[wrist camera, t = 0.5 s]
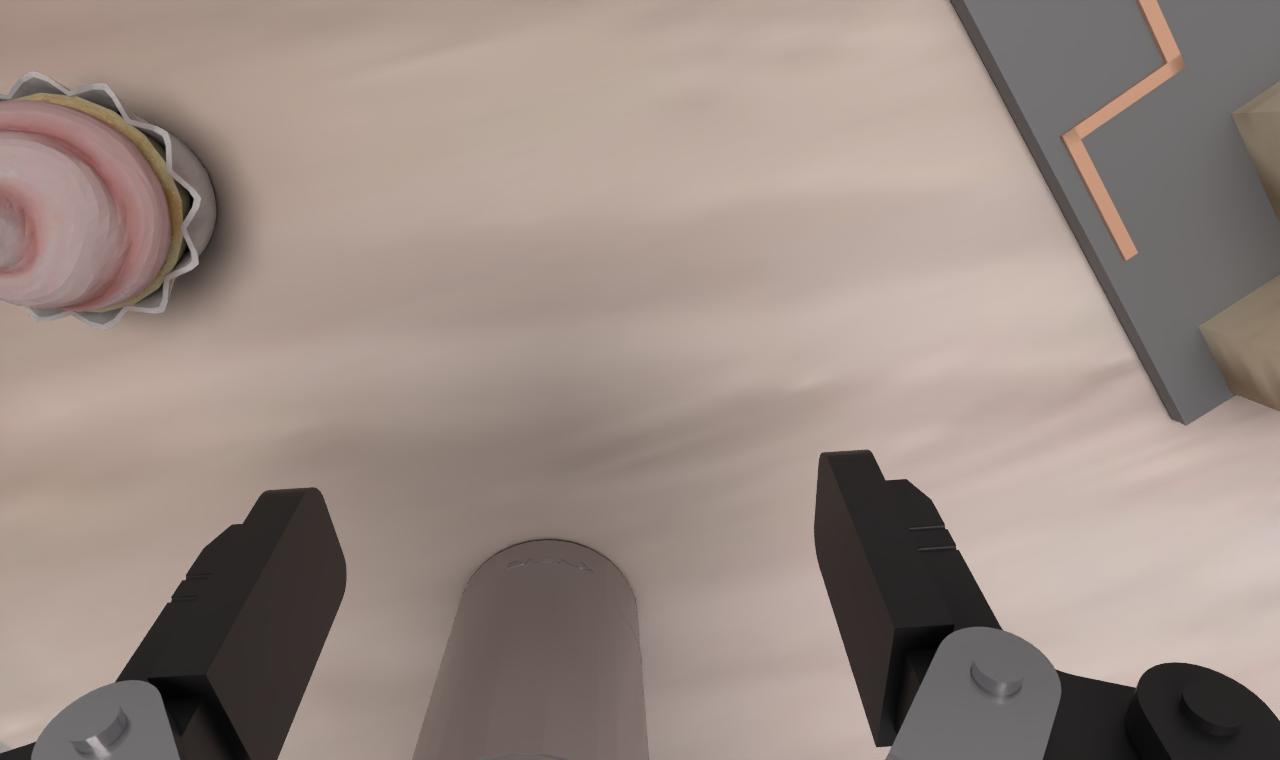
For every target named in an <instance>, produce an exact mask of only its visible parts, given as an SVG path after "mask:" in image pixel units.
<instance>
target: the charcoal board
mask: <svg viewBox="0 0 1280 760" xmlns="http://www.w3.org/2000/svg"><path fill="white" fill-rule="evenodd" d="M951 2H952V4H953V6H954V8H955V10H956V12H957V13H958V15H959V17H960V19H961V21H962V23H963V25H964V27H965V29H966V31H967V32H968V34H969V36H970V38H971V40H972V42H973V44H974V46H975V48H976V49H977V51H978V53H979V55H980V57H981V59H982V61H983V63H984V65H985V66H986V68H987V70H988V72H989V74H990V76H991V78H992V80H993V82H994V84H995V85H996V87H997V89H998V91H999V93H1000V95H1001V97H1002V99H1003V101H1004V102H1005V104H1006V106H1007V108H1008V110H1009V112H1010V114H1011V116H1012V118H1013V120H1014V121H1015V123H1016V125H1017V127H1018V129H1019V131H1020V133H1021V135H1022V137H1023V138H1024V140H1025V142H1026V144H1027V146H1028V148H1029V150H1030V152H1031V154H1032V155H1033V157H1034V159H1035V161H1036V163H1037V165H1038V167H1039V169H1040V171H1041V173H1042V174H1043V176H1044V178H1045V180H1046V182H1047V184H1048V186H1049V188H1050V190H1051V191H1052V193H1053V195H1054V197H1055V199H1056V201H1057V203H1058V205H1059V207H1060V208H1061V210H1062V212H1063V214H1064V216H1065V218H1066V220H1067V222H1068V224H1069V226H1070V227H1071V229H1072V231H1073V233H1074V235H1075V237H1076V239H1077V241H1078V243H1079V244H1080V246H1081V248H1082V250H1083V252H1084V254H1085V256H1086V258H1087V260H1088V262H1089V263H1090V265H1091V267H1092V269H1093V271H1094V273H1095V275H1096V277H1097V279H1098V280H1099V282H1100V284H1101V286H1102V288H1103V290H1104V292H1105V294H1106V296H1107V297H1108V299H1109V301H1110V303H1111V305H1112V307H1113V309H1114V311H1115V313H1116V315H1117V316H1118V318H1119V320H1120V322H1121V324H1122V326H1123V328H1124V330H1125V332H1126V333H1127V335H1128V337H1129V339H1130V341H1131V343H1132V345H1133V347H1134V349H1135V350H1136V352H1137V354H1138V356H1139V358H1140V360H1141V362H1142V364H1143V366H1144V368H1145V369H1146V371H1147V373H1148V375H1149V377H1150V379H1151V381H1152V383H1153V385H1154V386H1155V388H1156V390H1157V392H1158V394H1159V396H1160V398H1161V400H1162V402H1163V403H1164V405H1165V407H1166V409H1167V411H1168V413H1169V415H1170V417H1171V419H1173V420H1175V421H1177V422H1180V423H1182V424H1184V425H1188V424H1190V423H1191V422H1193V421H1194V420H1196V419H1198V418H1199V417H1201V416H1202V415H1204V414H1206V413H1207V412H1209V411H1210V410H1212V409H1214V408H1215V407H1217V406H1218V405H1220V404H1222V403H1223V402H1225V401H1227V400H1228V399H1230V398H1231V397H1233V396H1235V395H1236V394H1235V393H1232V392H1230V390H1229V388H1228V386H1227V384H1226V382H1225V380H1224V378H1223V376H1222V374H1221V372H1220V370H1219V367H1218V365H1217V363H1216V361H1215V359H1214V357H1213V355H1212V353H1211V351H1210V349H1209V347H1208V345H1207V343H1206V341H1205V339H1204V337H1203V335H1202V333H1201V331H1200V329H1199V327H1198V326H1200V325H1201V324H1203V323H1205V322H1206V321H1208V320H1209V319H1211V318H1212V317H1214V316H1216V315H1217V314H1219V313H1220V312H1222V311H1223V310H1225V309H1227V308H1228V307H1230V306H1231V305H1233V304H1234V303H1236V302H1237V301H1239V300H1241V299H1242V298H1244V297H1245V296H1247V295H1248V294H1250V293H1252V292H1253V291H1255V290H1256V289H1258V288H1259V287H1261V286H1263V285H1264V284H1266V283H1267V282H1269V281H1270V280H1272V279H1273V278H1275V277H1277V276H1278V275H1280V224H1279V221H1278V219H1277V217H1276V215H1275V212H1274V210H1273V208H1272V205H1271V203H1270V201H1269V199H1268V196H1267V194H1266V192H1265V190H1264V187H1263V185H1262V183H1261V180H1260V178H1259V176H1258V174H1257V171H1256V169H1255V167H1254V164H1253V162H1252V160H1251V158H1250V155H1249V153H1248V151H1247V149H1246V146H1245V144H1244V142H1243V139H1242V137H1241V135H1240V133H1239V130H1238V128H1237V126H1236V123H1235V121H1234V119H1233V117H1232V114H1231V113H1233V112H1234V111H1236V110H1237V109H1239V108H1240V107H1242V106H1243V105H1245V104H1246V103H1248V102H1249V101H1251V100H1252V99H1254V98H1255V97H1257V96H1258V95H1260V94H1261V93H1263V92H1264V91H1265V90H1267V89H1268V88H1270V87H1271V86H1273V85H1274V84H1276V83H1277V82H1279V81H1280V0H951Z"/></svg>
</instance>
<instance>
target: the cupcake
mask: <svg viewBox="0 0 1280 760" xmlns="http://www.w3.org/2000/svg"><path fill="white" fill-rule="evenodd" d="M216 216H217V212H216V202H215V195H214V191H213V188H212V185H211V182H210V179H209V176H208V173H207V172H206V170H205V169H204V167H203V166H202V164H201V163H200V161H199V160H198V159H197V157H196V156H195V155H194V154H193V152H192V151H191V150H190V149H189V148H188V147H187V146H186V145H185V144H184V143H183V142H182V141H181V140H180V139H178V138H177V137H175V136H173V135H172V134H170V133H169V132H167V131H165V130H163V129H161V128H160V127H158V126H155V125H153V124H151V123H149V122H147V121H145V120H144V119H142V118H140V117H138V116H137V115H135V114H133V113H132V112H131V111H130V109H129V108H128V107H127V106H126V105H125V104H124V103H123V102H122V101H121V100H120V99H119V97H118V96H117V95H116V94H115V93H114V92H113V91H112V90H111V89H110V88H109V87H108V86H107V85H106V84H98V83H94V84H91V85H87V86H84V87H81V88H77V89H74V90H69V89H68V88H66V87H64V86H63V85H61V84H59V83H58V82H56V81H54V80H53V79H51V78H49V77H48V76H46V75H43V74H40V73H37V72H34V71H31V72H29V73H27V74H26V75H24V76H22V77H20V79H19V80H18V81H17V83H16V84H15V85H14V87H13V88H12V89H11V91H10V92H9V93H8V95H4V94H0V300H3V301H5V302H8V303H11V304H15V305H19V306H24V307H25V308H26V310H27V311H28V313H29V314H30V315H31V316H32V317H33V318H34V319H35V320H36V321H39V322H48V321H51V320H55V319H58V318H62V317H66V316H69V315H72V316H74V317H76V318H77V319H79V320H81V321H82V322H84V323H85V324H87V325H89V326H90V327H93V328H99V329H105V330H106V329H108V328H110V327H113V326H115V325H116V324H117V323H118V322H119V321H120V319H121V318H122V317H123V316H124V315H125V313H126V312H127V311H135V312H144V313H152V314H155V313H162V312H164V310H165V308H166V306H167V303H168V300H169V297H170V294H171V291H172V288H173V285H174V282H175V279H176V278H177V277H178V276H179V275H181V274H184V273H186V272H188V271H191V270H192V269H194V268H195V267H196V266H197V265H198V264H199V259H198V256H199V255H200V254H201V253H202V252H203V251H204V250H205V248H206V246H207V244H208V243H209V241H210V238H211V236H212V234H213V230H214V226H215V221H216Z"/></svg>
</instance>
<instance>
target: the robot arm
mask: <svg viewBox="0 0 1280 760" xmlns="http://www.w3.org/2000/svg"><path fill="white" fill-rule="evenodd" d="M814 538H815V548H816V554H817V559H818V564H819V567H820V570H821V573H822V577H823V580H824V583H825V586H826V589H827V593H828V596H829V599H830V602H831V605H832V608H833V612H834V615H835V618H836V621H837V624H838V627H839V631H840V634H841V637H842V640H843V643H844V646H845V650H846V653H847V656H848V659H849V662H850V666H851V669H852V672H853V675H854V678H855V681H856V685H857V688H858V691H859V694H860V697H861V700H862V704H863V707H864V710H865V713H866V716H867V720H868V723H869V726H870V729H871V732H872V735H873V739H874V742H875V745H876V747H887V746H892V747H891V750H890V752H889V754H888V756H887V758H886V760H1280V721H1279V720H1278V718H1277V717H1276V716H1275V714H1274V713H1273V712H1272V711H1271V710H1270V708H1269V707H1268V706H1267V705H1266V704H1265V703H1264V702H1263V701H1262V700H1261V699H1260V698H1259V697H1258V696H1257V695H1255V694H1254V693H1253V692H1251V691H1250V690H1249V689H1247V688H1246V687H1245V686H1243V685H1242V684H1240V683H1238V682H1237V681H1235V680H1233V679H1231V678H1229V677H1227V676H1225V675H1223V674H1221V673H1219V672H1216V671H1214V670H1211V669H1209V668H1205V667H1202V666H1198V665H1193V664H1187V663H1164V664H1160V665H1156V666H1154V667H1152V668H1150V669H1148V670H1147V671H1146V672H1145V673H1144V674H1143V675H1142V677H1141V678H1140V680H1139V682H1138V684H1137V687H1136V688H1134V687H1129V686H1124V685H1119V684H1114V683H1109V682H1104V681H1100V680H1095V679H1090V678H1085V677H1080V676H1075V675H1072V674H1068V673H1064V672H1061V671H1058V670H1056V669H1055V668H1054V666H1053V665H1052V664H1051V662H1050V661H1049V660H1048V658H1047V657H1046V656H1045V655H1044V654H1043V653H1042V652H1041V651H1040V650H1038V649H1037V648H1036V647H1034V646H1033V645H1032V644H1030V643H1029V642H1027V641H1026V640H1024V639H1022V638H1020V637H1018V636H1016V635H1014V634H1012V633H1009V632H1006V631H1003V630H1002V628H1001V626H1000V625H999V623H998V621H997V619H996V617H995V616H994V614H993V612H992V610H991V608H990V606H989V605H988V603H987V601H986V599H985V597H984V595H983V594H982V592H981V590H980V588H979V586H978V584H977V583H976V581H975V579H974V577H973V575H972V573H971V572H970V570H969V568H968V566H967V564H966V562H965V561H964V559H963V557H962V555H961V553H960V551H959V550H956V544H955V542H954V540H953V539H952V537H951V535H950V533H949V531H948V529H945V524H944V522H943V520H942V518H941V517H940V515H939V513H938V511H937V509H936V507H935V506H934V504H933V502H932V500H931V499H930V498H929V497H927V496H926V495H925V494H924V493H922V492H921V491H920V490H919V489H918V488H916V487H915V486H914V485H913V484H911V483H910V482H909V481H908V480H907V479H902V480H887V481H885V479H884V476H883V474H882V472H881V470H880V468H879V466H878V464H877V462H876V460H875V458H874V456H873V454H872V452H871V451H870V450H854V451H839V452H824V453H821V455H820V458H819V466H818V480H817V494H816V508H815V522H814ZM346 575H347V574H346V563H345V558H344V555H343V552H342V549H341V546H340V543H339V540H338V538H337V535H336V532H335V529H334V526H333V523H332V520H331V518H330V515H329V512H328V509H327V506H326V503H325V500H324V498H323V495H322V494H321V492H320V491H319V490H318V489H317V488H314V487H311V488H296V489H281V490H268V491H265V492H264V493H262V494H261V496H260V497H259V498H258V500H257V502H256V503H255V505H254V506H253V508H252V510H251V511H250V513H249V514H248V516H247V518H246V519H245V521H244V522H243V524H235V525H231V526H230V527H229V528H227V529H226V530H225V531H224V532H223V533H221V534H220V535H219V536H218V537H217V538H215V539H214V540H213V541H212V542H211V543H210V544H208V545H207V546H206V547H205V548H204V549H203V550H202V552H201V553H200V555H199V556H198V558H197V559H196V561H195V562H194V564H193V565H192V567H191V568H190V570H189V571H188V573H187V574H186V580H182V582H181V583H180V585H179V586H178V588H177V589H176V591H175V592H174V594H173V595H172V601H171V603H167V604H166V606H165V608H164V609H163V611H162V612H161V614H160V615H159V617H158V618H157V620H156V621H155V623H154V624H153V626H152V627H151V629H150V630H149V632H148V633H147V635H146V636H145V638H144V639H143V641H142V642H141V644H140V645H139V647H138V648H137V650H136V651H135V653H134V654H133V656H132V657H131V659H130V660H129V662H128V663H127V665H126V666H125V668H124V670H123V671H122V673H121V674H120V676H119V677H118V679H117V680H116V682H115V683H112V684H109V685H106V686H103V687H100V688H98V689H96V690H94V691H91V692H89V693H88V694H86V695H84V696H82V697H80V698H79V699H77V700H76V701H74V702H73V703H71V704H70V705H69V706H67V707H66V708H65V709H64V710H62V711H61V712H60V713H59V714H58V715H57V716H56V717H55V718H54V719H53V720H52V721H51V722H50V723H49V724H48V725H47V727H46V728H45V729H44V730H43V732H42V733H41V735H40V736H39V738H38V739H37V742H34V743H31V744H28V745H25V746H22V747H19V748H16V749H13V750H10V751H7V752H4V753H1V754H0V760H277V759H278V756H279V754H280V751H281V749H282V746H283V744H284V742H285V739H286V737H287V734H288V732H289V729H290V727H291V724H292V722H293V719H294V717H295V714H296V712H297V710H298V707H299V705H300V702H301V700H302V697H303V695H304V692H305V690H306V687H307V685H308V682H309V680H310V678H311V675H312V673H313V670H314V668H315V665H316V663H317V660H318V658H319V655H320V653H321V650H322V648H323V646H324V643H325V641H326V638H327V636H328V633H329V631H330V628H331V626H332V623H333V621H334V618H335V616H336V614H337V611H338V609H339V606H340V604H341V601H342V599H343V596H344V592H345V587H346ZM412 760H649V751H648V739H647V727H646V714H645V702H644V690H643V677H642V662H641V649H640V637H639V625H638V614H637V607H636V600H635V597H634V595H633V592H632V590H631V588H630V585H629V583H628V582H627V580H626V579H625V578H624V576H623V575H622V573H621V572H620V571H619V569H617V568H616V567H615V566H614V565H613V564H612V563H611V562H610V561H609V560H607V559H606V558H605V557H603V556H601V555H600V554H598V553H596V552H594V551H593V550H591V549H589V548H586V547H583V546H580V545H577V544H574V543H570V542H563V541H556V540H545V541H531V542H527V543H523V544H519V545H515V546H513V547H511V548H508V549H506V550H504V551H502V552H500V553H498V554H496V555H495V556H493V557H492V558H491V559H489V560H488V561H487V562H485V563H484V564H483V565H482V566H481V567H480V568H479V569H478V571H477V572H476V573H475V574H474V575H473V576H472V577H471V579H470V581H469V583H468V585H467V587H466V589H465V590H464V592H463V595H462V598H461V602H460V605H459V608H458V612H457V615H456V618H455V621H454V625H453V628H452V631H451V635H450V638H449V640H448V643H447V646H446V650H445V653H444V656H443V660H442V663H441V666H440V669H439V673H438V676H437V679H436V683H435V686H434V689H433V692H432V696H431V699H430V702H429V706H428V709H427V712H426V716H425V719H424V722H423V725H422V729H421V732H420V735H419V739H418V742H417V745H416V749H415V752H414V755H413V758H412Z"/></svg>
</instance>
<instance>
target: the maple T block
mask: <svg viewBox="0 0 1280 760" xmlns="http://www.w3.org/2000/svg"><path fill="white" fill-rule="evenodd" d="M1231 114H1232V117H1233V119H1234V121H1235V123H1236V126H1237V128H1238V130H1239V133H1240V135H1241V137H1242V139H1243V142H1244V144H1245V146H1246V149H1247V151H1248V153H1249V155H1250V158H1251V160H1252V162H1253V164H1254V167H1255V169H1256V171H1257V174H1258V176H1259V178H1260V180H1261V183H1262V185H1263V187H1264V190H1265V192H1266V194H1267V196H1268V199H1269V201H1270V203H1271V205H1272V208H1273V210H1274V212H1275V215H1276V217H1277V219H1278V221H1279V224H1280V81H1279V82H1277V83H1276V84H1274V85H1273V86H1271V87H1270V88H1268V89H1267V90H1265V91H1264V92H1263V93H1261V94H1260V95H1258V96H1257V97H1255V98H1254V99H1252V100H1251V101H1249V102H1248V103H1246V104H1245V105H1243V106H1242V107H1240V108H1239V109H1237V110H1236V111H1234V112H1233V113H1231ZM1198 327H1199V329H1200V331H1201V333H1202V335H1203V337H1204V339H1205V341H1206V343H1207V345H1208V347H1209V349H1210V351H1211V353H1212V355H1213V357H1214V359H1215V361H1216V363H1217V365H1218V367H1219V370H1220V372H1221V374H1222V376H1223V378H1224V380H1225V382H1226V384H1227V386H1228V388H1229V390H1230V392H1232V393H1235V394H1237V395H1240V396H1242V397H1245V398H1247V399H1250V400H1253V401H1255V402H1258V403H1260V404H1263V405H1265V406H1268V407H1270V408H1273V409H1276V410H1278V411H1280V275H1278V276H1277V277H1275V278H1273V279H1272V280H1270V281H1269V282H1267V283H1266V284H1264V285H1263V286H1261V287H1259V288H1258V289H1256V290H1255V291H1253V292H1252V293H1250V294H1248V295H1247V296H1245V297H1244V298H1242V299H1241V300H1239V301H1237V302H1236V303H1234V304H1233V305H1231V306H1230V307H1228V308H1227V309H1225V310H1223V311H1222V312H1220V313H1219V314H1217V315H1216V316H1214V317H1212V318H1211V319H1209V320H1208V321H1206V322H1205V323H1203V324H1201V325H1200V326H1198Z"/></svg>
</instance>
